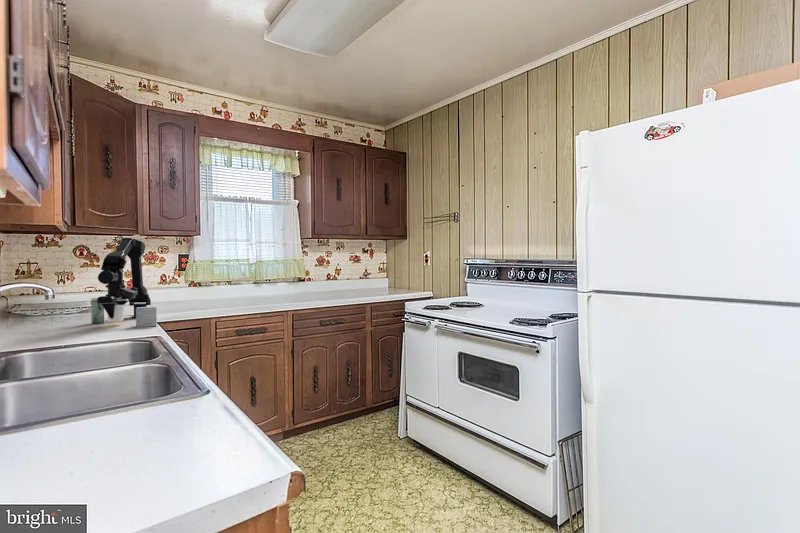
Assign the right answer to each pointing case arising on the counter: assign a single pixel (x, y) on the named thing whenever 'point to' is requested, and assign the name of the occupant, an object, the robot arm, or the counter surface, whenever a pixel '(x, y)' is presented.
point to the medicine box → (146, 316)
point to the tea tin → (96, 312)
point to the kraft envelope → (113, 325)
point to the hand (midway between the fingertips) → (115, 317)
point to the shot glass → (117, 314)
